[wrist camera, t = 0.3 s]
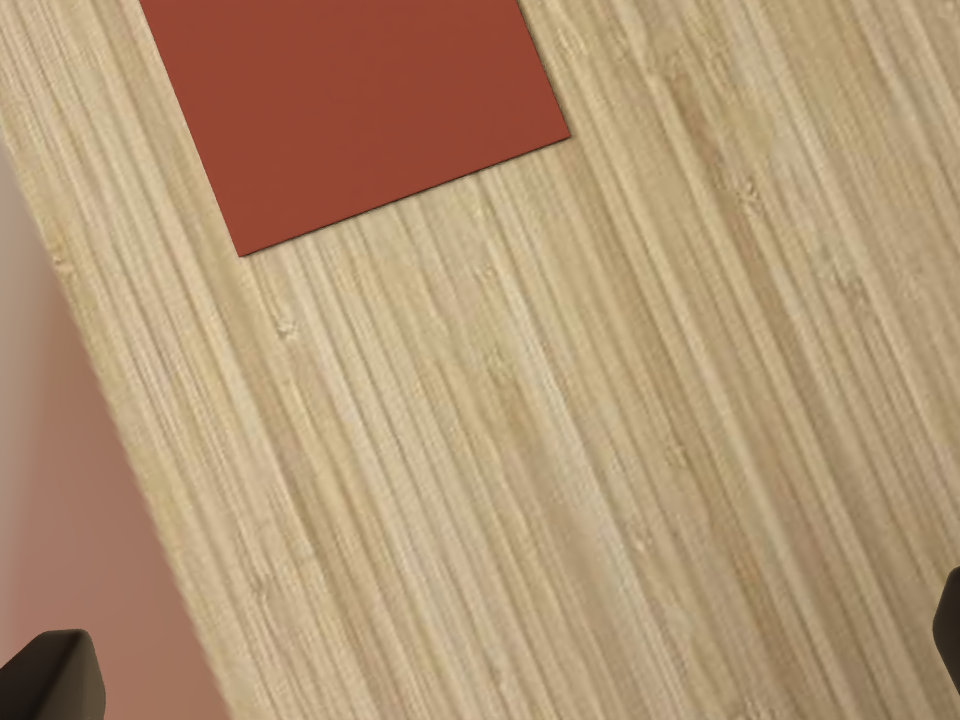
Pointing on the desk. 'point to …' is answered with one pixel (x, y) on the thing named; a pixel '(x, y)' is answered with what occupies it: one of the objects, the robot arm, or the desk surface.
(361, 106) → the mat
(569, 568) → the desk surface
